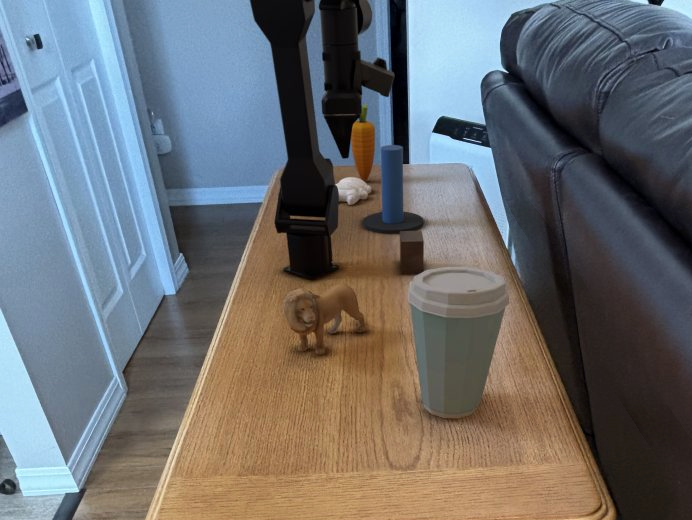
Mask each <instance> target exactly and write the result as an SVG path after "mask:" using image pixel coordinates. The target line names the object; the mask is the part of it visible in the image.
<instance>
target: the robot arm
mask: <svg viewBox="0 0 692 520" xmlns="http://www.w3.org/2000/svg"><path fill="white" fill-rule="evenodd" d="M315 1H316V0H249V3H250V7H251V11H252V17H253V21H254V23H256V25H257V27H258V28H259V29H260V31H261V33H262V34H263V36H264V37H265V38H266V40H267V41H268V42H269V45H270V50H271V56H272V57H271V58H272V63H273V70H274V77H275V83H276V90H277V97H278V104H279V109H280V117H281V122H282V124H281V125H282V130H283V137H284V144H285V150H286V156H287V161H286V163H285V166H284V168H283V170H282V173H281V176H280V178H279V184H280V185H279V190H278V191H279V192H278V194H277V202H276V203H277V204H276V209H275V210H276V211H275V215H274V228H275V230H276V233H277V234H286V243H287V251H288V261H289V265H287V266H285V267H283V268H282V269H283V272H284V273H288V274H290V275H293V276H296V277H300V278H304V279H306V280H311V281H313V280H316V279H318V278H321V277H323V276H325V275H328V274H330V273H332V272H334V271H337V270H338V269H340V264H337V263H333V248H332V247H333V246H332V235H333V234H334V233H335V231H336V230H337V229H338V228H339V205H340V202H339V192H338V188H337V186H336V185H335V184H336V181H335V174H334V173H335V172H334V164H333V161H332V160H331V158H328V157H327V158H325V157H324V155H323V154H322V153H321V151H320V145H319V137H318V136H319V135H318V129H317V120H316V111H315V103H314V96H313V87H312V77H311V69H310V61H309V52H308V44H307V34H308V31H309V29H310V26H311V23H312V21H313V18H314V16H315V13H316V3H315ZM371 7H372V6H371V4H370V2H369V0H319V3H318V10H319V17H320V31H321V32H320V33H321V47H322V52H321V56H322V57H321V59H322V60H321V61H322V62H323V63H322V64H323V75H324V77H323V78H324V82H323V88H324V89H323V90H324V91H325V93H324V94H323V95H322V97H321V101H320V103H321V115H322V116H323V119H324V120H325V122H326V125H327V127H328V129H329V131H330V133H331V136H332V138H333V141H334V142H335V144H336V147H337V150H338V152H339V154H340V157H341V159H344V160H345V159H349V157H350V152H351V151H350V150H351V134H352V126H353V124H354V123H355V122H357V121H359V118H360V117H361V113H362V108H363V105H362V103H363V102H362V100H363V97H362V96H363V88H365V89H368V90H371V91H373V92H376V93H379V95H380V96H382V97H385V98H389V97H390V93H391V90H392V87H393V84H394V80H395V77H396V76H395V72H393V71H392V70H391V69H388V65H387V60H386V59H383V58H381V57H379V56H378V57H376V59H374V61H373V62H371V61H366V60H364V59H362V53H361V52H362V51H361V50H360V49H359V36H360V35H363V34H364V33H366V32H367V31H368V29H369V28H370V26H372V25H371V24H372V21H373V10H372V8H371ZM291 217H305V218H291ZM309 218H319V219H309ZM320 218H322V219H320Z"/></svg>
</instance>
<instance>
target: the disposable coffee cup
mask: <svg viewBox="0 0 692 520" xmlns="http://www.w3.org/2000/svg"><path fill="white" fill-rule="evenodd" d="M408 285H409V286H408V287H409V288H408V290H407V302H408V303H409V306H410V316H411V324H412V331H413V340H414V349H415V356H416V365H417V373H418V382H419V388H420V391H419V392H420V399H421V403H422V404H423V408H424V409H425V410H426V411H427V412H429V414H431V415H434V416H436V417H440V418H443V419H462V418H466V417H468V416H471V415H473V414H474V413H475V412H476V411H477V410H478V407H479V405H480V404H481V403H482V399H483V395H484V392H485V387H486V383H487V380H488V376H489V372H490V368H491V365H492V361H493V356H494V354H495V349H496V345H497V341H498V337H499V335H500V330H501V326H502V323H503V318H504V315H505V312H506V307H508V306H509V305H510V292H509V287H508V285H507V283H506V281H505V278H504V276H503V275H500V274H498V273H496V272H493V271H491V270H487V269H482V268H478V267H471V266H442V267H437V268H431V269H426V270H423V272H422V273H420V274H417V275H416V274H415V276H414V277H413V279H412V280H411V281H410V282H409V284H408Z"/></svg>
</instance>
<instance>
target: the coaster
mask: <svg viewBox="0 0 692 520" xmlns="http://www.w3.org/2000/svg"><path fill="white" fill-rule="evenodd" d="M424 222H425V221H424V217H422V216H421V215H419V214H416V213H414V212H410V211H403V221H402V222H400V223H385V222H383V218H382V211H380V212H375V213H372V214H369V215H367V216H365V217H364V218H363V220H362V225H363V227H364V228H365V229H367V230H369V231H371V232H374V233H379V234H381V233H382V234H400V231H418V229H420V228H422V227H423V226H424Z"/></svg>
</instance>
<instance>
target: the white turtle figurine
mask: <svg viewBox="0 0 692 520" xmlns="http://www.w3.org/2000/svg"><path fill="white" fill-rule="evenodd" d="M335 185H336V186H337V188H338V192H339V203H340V202H343V203H344V202H347V205H349V206H353V205H355V204H356V203H357V202H358V201H359V200H367V199H368V196H369V194H371V193H372V187H371V186H370V185H368V184H367V182H364V181H363V180H362V179H361V178H360V177H354V176H349V177H344V178H342V179H340V180H339V182H337V183H335Z"/></svg>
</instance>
